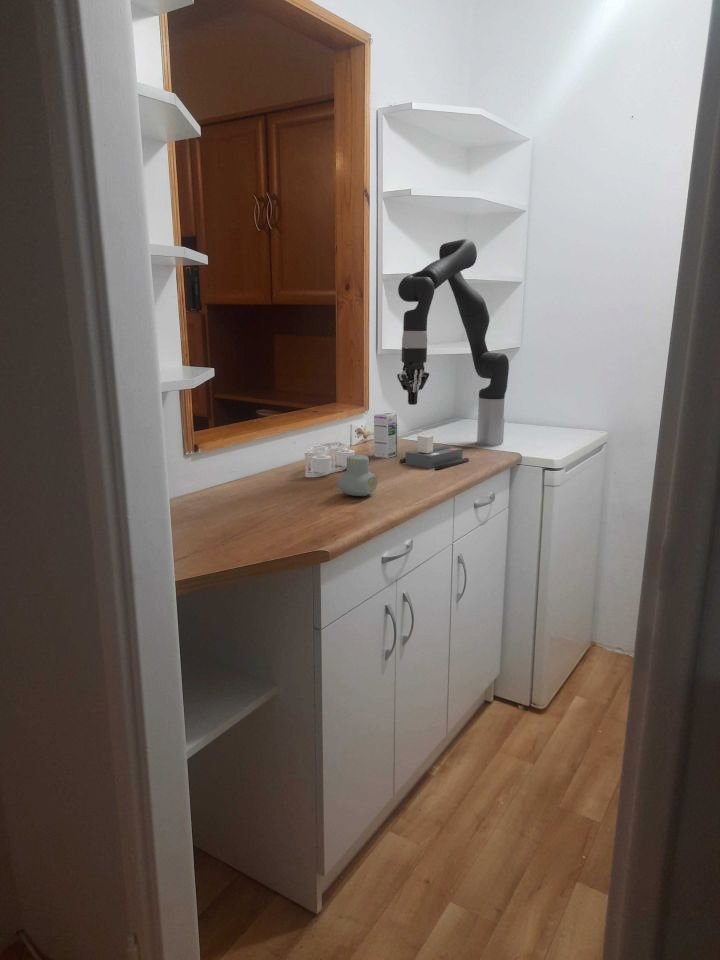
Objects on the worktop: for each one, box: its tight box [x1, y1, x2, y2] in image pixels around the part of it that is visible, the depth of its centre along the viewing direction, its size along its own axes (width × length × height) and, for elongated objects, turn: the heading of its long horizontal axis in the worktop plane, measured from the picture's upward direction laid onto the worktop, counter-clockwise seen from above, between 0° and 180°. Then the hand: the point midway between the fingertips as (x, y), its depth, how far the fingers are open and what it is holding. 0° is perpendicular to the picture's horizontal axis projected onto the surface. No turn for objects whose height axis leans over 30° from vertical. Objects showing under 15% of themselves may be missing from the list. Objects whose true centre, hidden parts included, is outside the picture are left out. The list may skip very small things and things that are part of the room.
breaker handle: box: [416, 434, 434, 453], centre depth 214 cm, size 3×4×5 cm
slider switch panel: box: [399, 457, 470, 471], centre depth 219 cm, size 17×15×1 cm
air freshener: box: [337, 454, 379, 497], centre depth 180 cm, size 11×8×10 cm
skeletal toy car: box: [304, 441, 356, 478], centre depth 207 cm, size 20×11×7 cm, turn 142°
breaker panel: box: [405, 444, 464, 470], centre depth 219 cm, size 17×10×4 cm, turn 137°
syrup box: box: [373, 412, 398, 459], centre depth 227 cm, size 6×6×14 cm
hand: (412, 404), depth 206 cm, fingers closed
